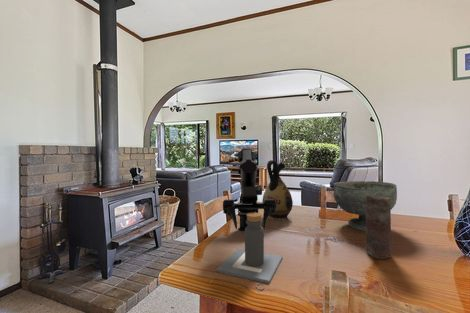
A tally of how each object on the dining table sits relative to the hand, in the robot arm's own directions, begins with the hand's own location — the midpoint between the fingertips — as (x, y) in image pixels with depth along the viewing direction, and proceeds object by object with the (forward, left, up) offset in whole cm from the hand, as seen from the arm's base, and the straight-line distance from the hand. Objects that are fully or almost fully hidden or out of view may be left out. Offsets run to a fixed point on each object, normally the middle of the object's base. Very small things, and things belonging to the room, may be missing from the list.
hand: (250, 228), depth 81 cm
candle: (+39, +17, -9) cm, 44 cm away
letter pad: (+2, -6, -9) cm, 11 cm away
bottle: (+3, -5, -9) cm, 11 cm away
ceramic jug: (-3, +46, -9) cm, 48 cm away
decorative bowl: (+37, +48, -9) cm, 62 cm away
